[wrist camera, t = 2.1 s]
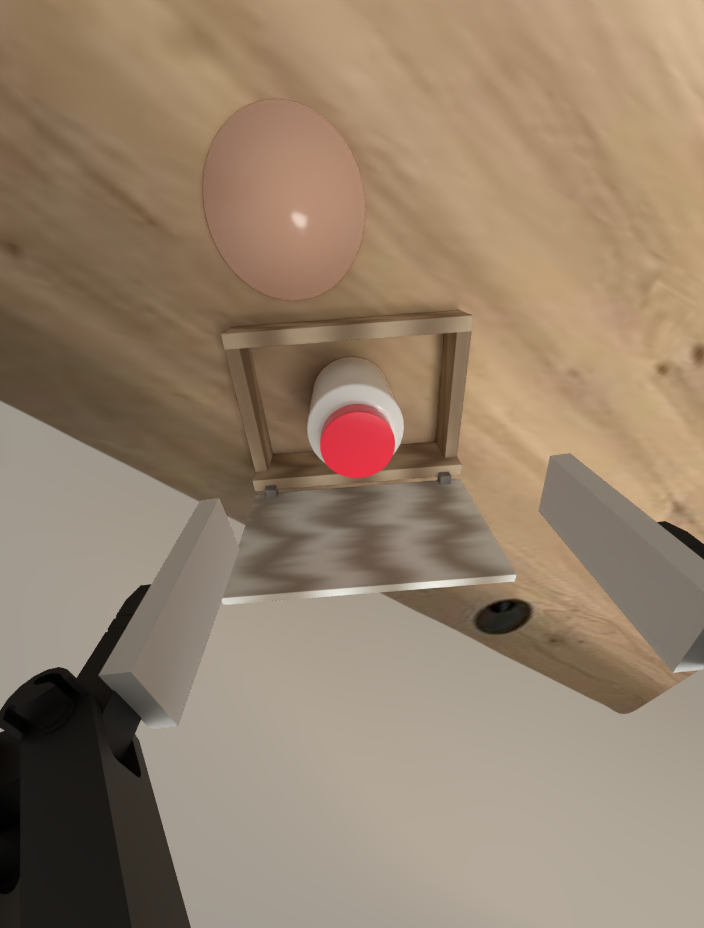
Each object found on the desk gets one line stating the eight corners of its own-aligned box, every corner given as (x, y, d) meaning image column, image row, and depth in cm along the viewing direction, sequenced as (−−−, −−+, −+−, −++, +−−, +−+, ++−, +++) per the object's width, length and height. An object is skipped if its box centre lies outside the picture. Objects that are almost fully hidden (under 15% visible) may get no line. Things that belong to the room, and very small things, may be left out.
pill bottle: (318, 433, 36) (312, 494, 26) (307, 360, 32) (295, 401, 22) (389, 427, 36) (410, 486, 26) (388, 352, 32) (411, 390, 22)
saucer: (229, 304, 29) (226, 305, 28) (184, 110, 23) (180, 105, 22) (367, 294, 29) (368, 295, 28) (360, 97, 23) (361, 92, 22)
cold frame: (266, 473, 38) (223, 604, 23) (232, 327, 30) (134, 387, 15) (445, 459, 38) (514, 581, 23) (459, 310, 30) (578, 353, 15)
